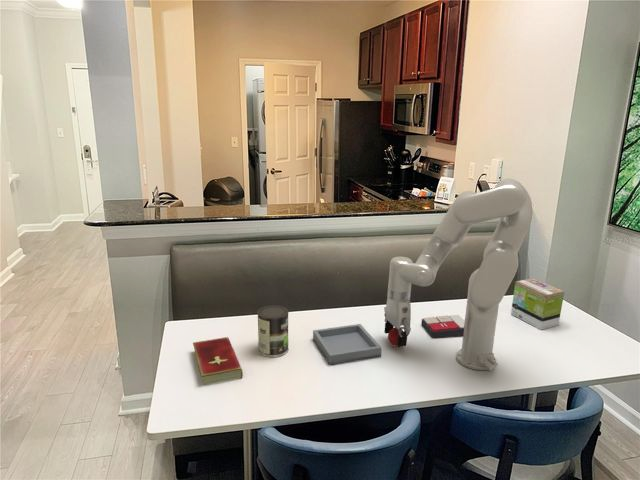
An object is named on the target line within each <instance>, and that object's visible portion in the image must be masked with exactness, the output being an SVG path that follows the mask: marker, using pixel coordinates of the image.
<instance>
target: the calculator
mask: <svg viewBox="0 0 640 480" xmlns="http://www.w3.org/2000/svg"><path fill="white" fill-rule="evenodd" d="M464 323H465V319H463V318H462V317H461V316H460V315H459V314H452V315H447V314H446V315H440V316H439V315H438V316H437V315H436V317H435V316H429V317H428V316H427V317H423V318H422V319H421V327H422V328H423V330H424V331H425V332H426V333H427V334H428V335H429V337H431V339H446V338H455V337H462V338H463V332H464Z"/></svg>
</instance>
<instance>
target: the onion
mask: <svg viewBox="0 0 640 480" xmlns="http://www.w3.org/2000/svg"><path fill="white" fill-rule="evenodd" d="M401 331H402V332H404V329H401ZM398 336H399V332H398V329H397V328H395V327H394V328H392V329H391V330H390V331H389V333H387V340H388V341H389V343H390V345H392V346H393V347H398V346H397V343H398Z"/></svg>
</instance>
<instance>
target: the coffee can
mask: <svg viewBox="0 0 640 480" xmlns="http://www.w3.org/2000/svg"><path fill="white" fill-rule="evenodd" d="M256 312H257V313H256V314H257V335H258V336H257V338H258V339H257V340H258V341H257V342H258V353H259V354H260V355H261V356H263V357H267V358H279V357H283V356H284V355H286V354H287V353H288V352H289V309H288V308H287V307H284V306H282V305H267V306H263V307H261V308H259V309H258V310H257V311H256Z"/></svg>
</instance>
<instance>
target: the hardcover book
mask: <svg viewBox="0 0 640 480" xmlns="http://www.w3.org/2000/svg"><path fill="white" fill-rule="evenodd" d="M192 346H193V349H194V354H195V359H196V362H197V365H198V366H197V367H198V368H199V373H200V377H201V380H202V383H203V384H202V385H203V386H207V385H211V384H212V385H213V384H217V383H222V382H227V381H232V380H237V379H243V374H244V373H243V368H242V366H241V364H240V362H239V359H238V357H237V354H236V353H235V349H234V347H233V345H232V343H231V340H230V338H229V337H228V336H225V337H220V338H213V339H207V340H201V341H194V342H192Z"/></svg>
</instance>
